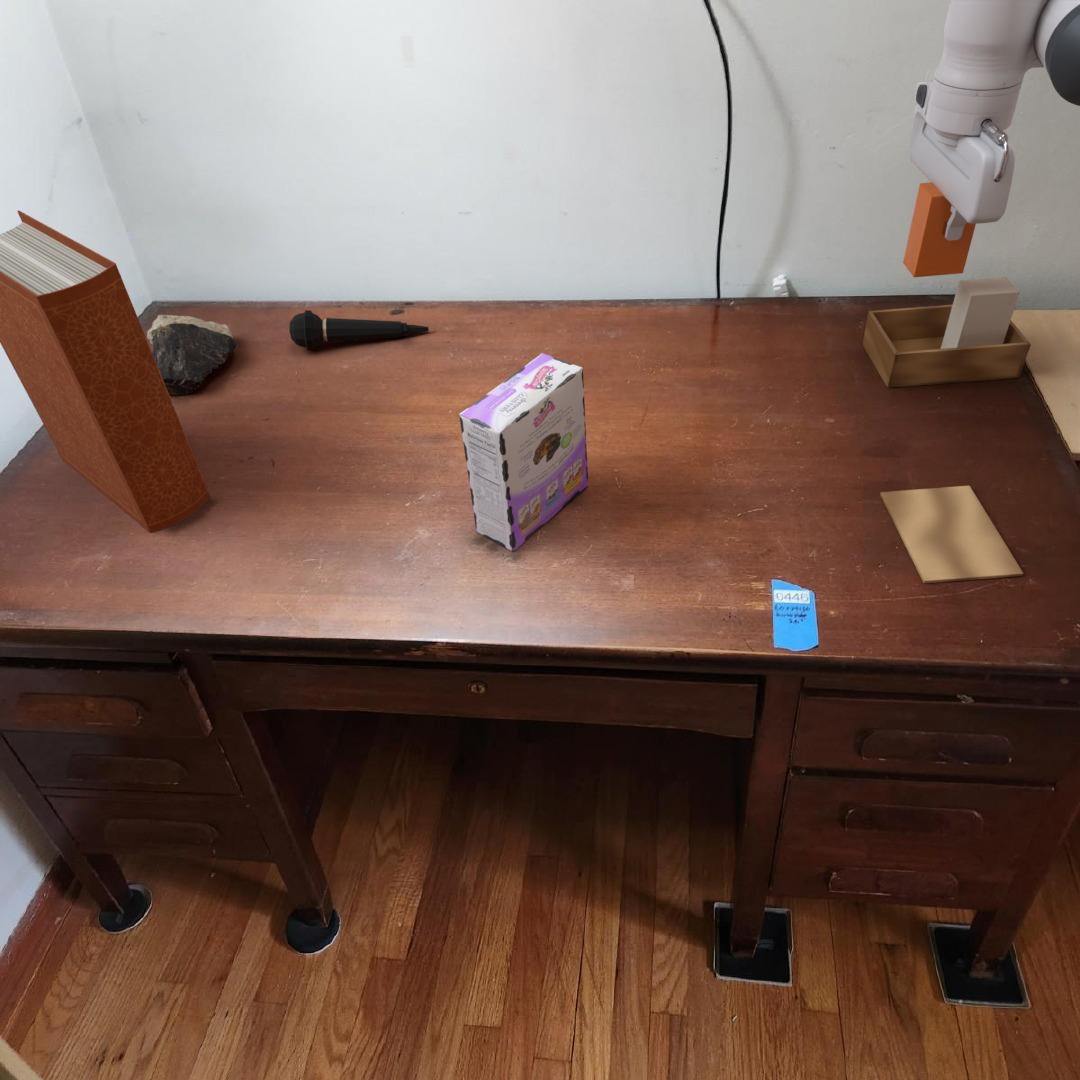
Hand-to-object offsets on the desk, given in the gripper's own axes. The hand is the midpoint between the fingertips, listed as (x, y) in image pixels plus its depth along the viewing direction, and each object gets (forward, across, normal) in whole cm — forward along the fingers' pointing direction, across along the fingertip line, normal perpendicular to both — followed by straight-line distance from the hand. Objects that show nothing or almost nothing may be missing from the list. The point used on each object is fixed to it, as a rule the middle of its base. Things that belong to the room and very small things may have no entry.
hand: (942, 227), depth 109 cm
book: (+18, -13, +100) cm, 103 cm away
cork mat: (+19, -33, +7) cm, 39 cm away
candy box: (+18, -24, +51) cm, 60 cm away
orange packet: (+5, 0, 0) cm, 5 cm away
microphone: (+18, +16, +75) cm, 79 cm away
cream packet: (+18, 0, -8) cm, 20 cm away
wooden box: (+19, 0, -4) cm, 19 cm away
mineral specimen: (+18, +12, +98) cm, 101 cm away
